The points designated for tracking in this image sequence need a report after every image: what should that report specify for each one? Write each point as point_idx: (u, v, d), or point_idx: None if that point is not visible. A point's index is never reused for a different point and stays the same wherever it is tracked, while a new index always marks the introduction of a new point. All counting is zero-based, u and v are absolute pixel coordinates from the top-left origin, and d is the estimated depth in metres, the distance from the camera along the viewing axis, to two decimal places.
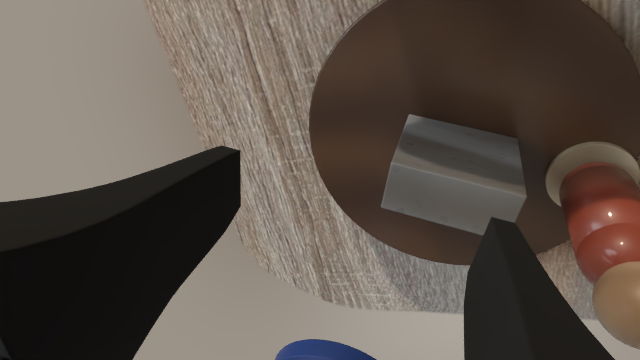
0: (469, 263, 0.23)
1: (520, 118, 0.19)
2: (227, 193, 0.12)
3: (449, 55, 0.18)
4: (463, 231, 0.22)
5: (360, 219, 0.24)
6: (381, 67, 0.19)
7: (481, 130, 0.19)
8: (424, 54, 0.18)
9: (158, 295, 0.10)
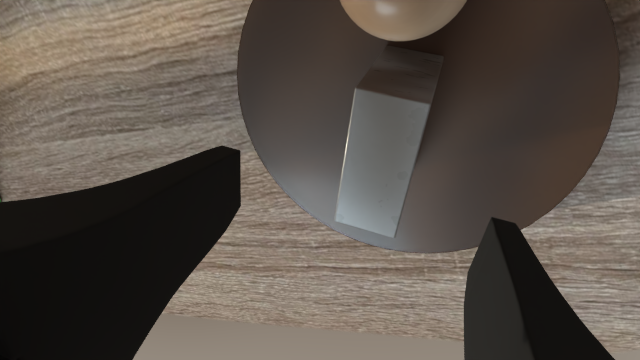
0: (613, 83, 0.14)
1: (362, 45, 0.16)
2: (227, 193, 0.12)
3: (304, 119, 0.19)
4: (540, 95, 0.15)
5: (517, 221, 0.18)
6: (320, 177, 0.20)
7: None
8: (305, 140, 0.19)
9: (158, 295, 0.10)
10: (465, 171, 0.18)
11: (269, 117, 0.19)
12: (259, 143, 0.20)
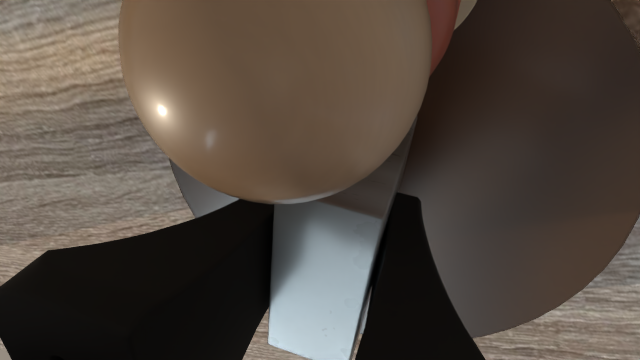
0: None
1: None
2: None
3: None
4: (547, 170, 0.11)
5: (516, 315, 0.14)
6: None
7: None
8: None
9: (249, 327, 0.10)
10: (449, 254, 0.14)
11: None
12: (196, 206, 0.16)
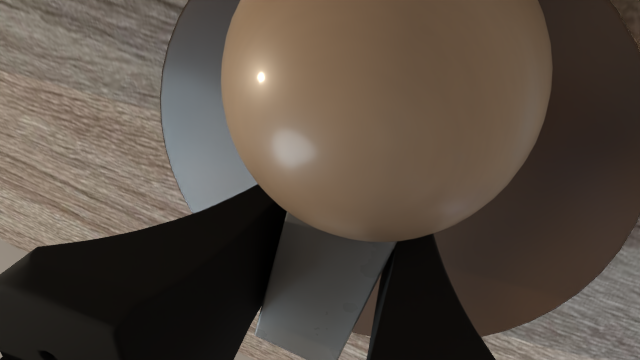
0: (639, 197, 0.11)
1: None
2: None
3: (243, 166, 0.15)
4: (544, 194, 0.12)
5: (488, 325, 0.15)
6: None
7: None
8: (242, 190, 0.15)
9: (241, 325, 0.10)
10: None
11: (199, 156, 0.15)
12: (185, 183, 0.16)
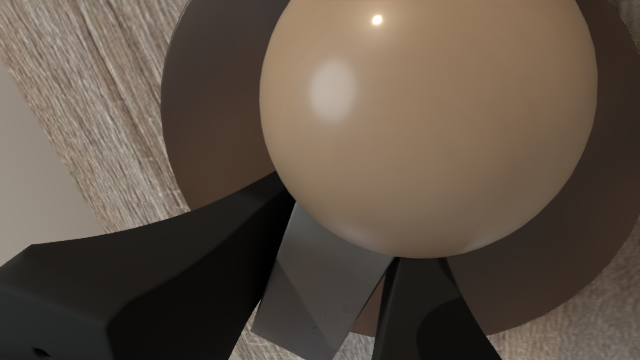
0: (634, 210, 0.11)
1: None
2: None
3: (242, 160, 0.14)
4: None
5: None
6: None
7: None
8: (240, 185, 0.15)
9: (237, 323, 0.10)
10: None
11: (197, 148, 0.15)
12: (182, 174, 0.16)
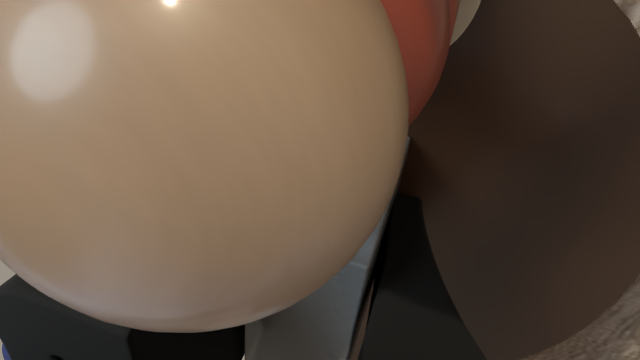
0: None
1: None
2: None
3: None
4: (552, 197, 0.10)
5: (519, 348, 0.13)
6: None
7: None
8: None
9: None
10: (446, 283, 0.13)
11: None
12: None
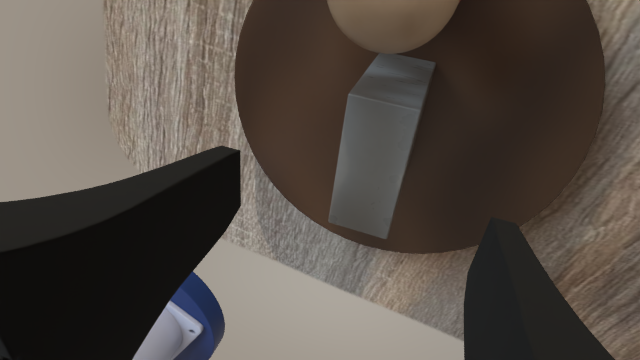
0: (599, 90, 0.15)
1: (357, 51, 0.17)
2: (227, 193, 0.12)
3: (300, 122, 0.19)
4: (529, 101, 0.16)
5: None
6: (316, 179, 0.21)
7: None
8: (301, 142, 0.20)
9: (158, 295, 0.10)
10: (456, 174, 0.18)
11: (266, 119, 0.20)
12: (256, 145, 0.21)
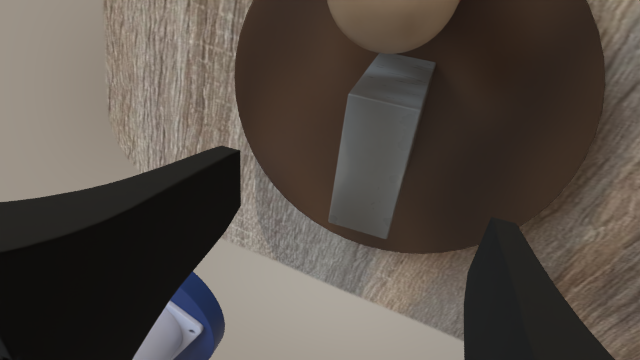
0: (599, 90, 0.15)
1: (357, 51, 0.17)
2: (227, 193, 0.12)
3: (300, 122, 0.19)
4: (529, 101, 0.16)
5: None
6: (316, 179, 0.21)
7: None
8: (301, 142, 0.20)
9: (158, 295, 0.10)
10: (456, 174, 0.18)
11: (266, 119, 0.20)
12: (256, 145, 0.21)
